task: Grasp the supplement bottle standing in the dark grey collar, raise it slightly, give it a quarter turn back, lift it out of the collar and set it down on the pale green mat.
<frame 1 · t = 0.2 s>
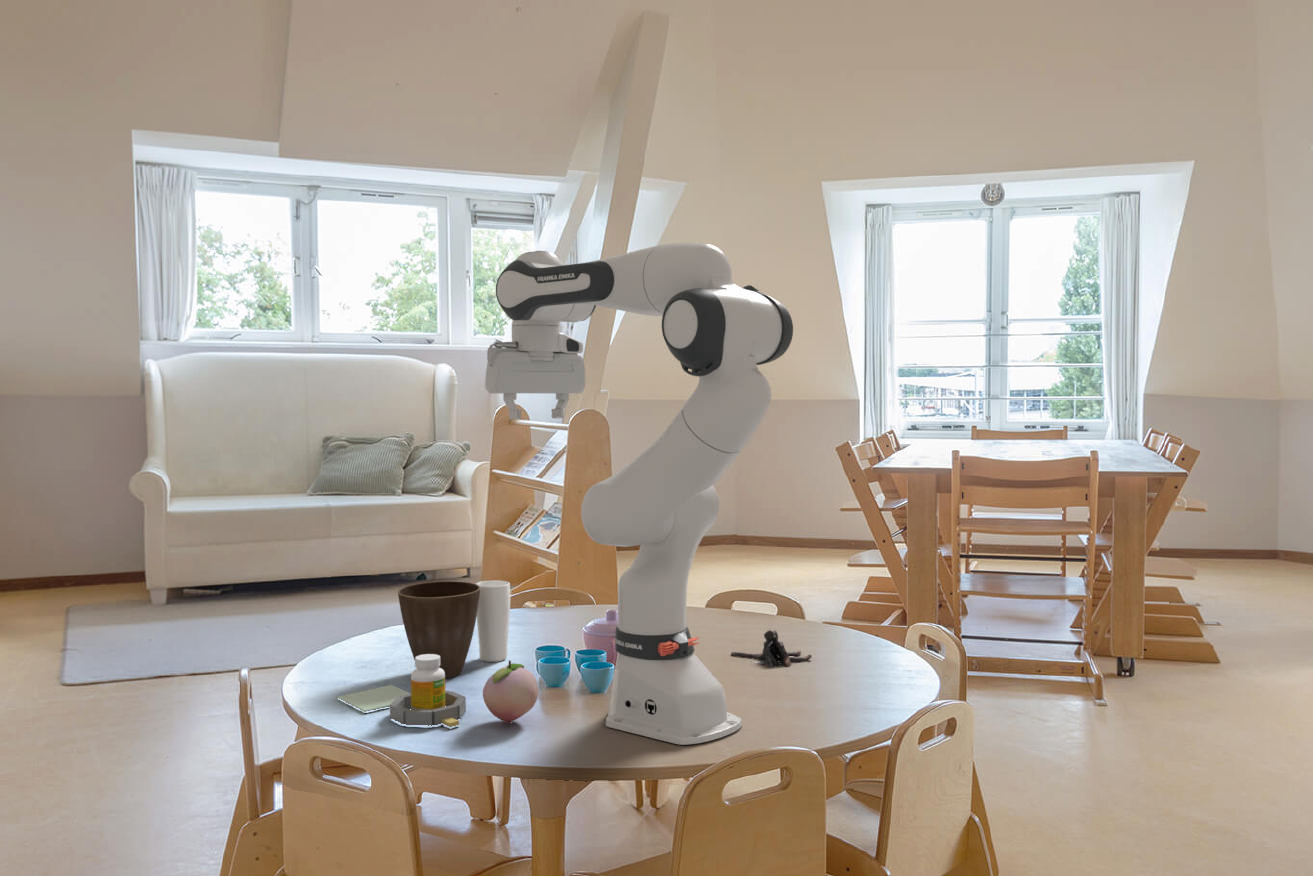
hand: (536, 418, 180), 47 cm above the table, tool pointing down, fingers open, 8 cm apart
collar: (428, 716, 159), on the table
drinking glass: (493, 660, 194), on the table
mat: (378, 700, 168), on the table
stuffed animal: (770, 662, 194), on the table
plant pot: (440, 675, 184), on the table
supplement bottle: (428, 717, 160), resting in collar
decorative fruit: (512, 724, 156), on the table
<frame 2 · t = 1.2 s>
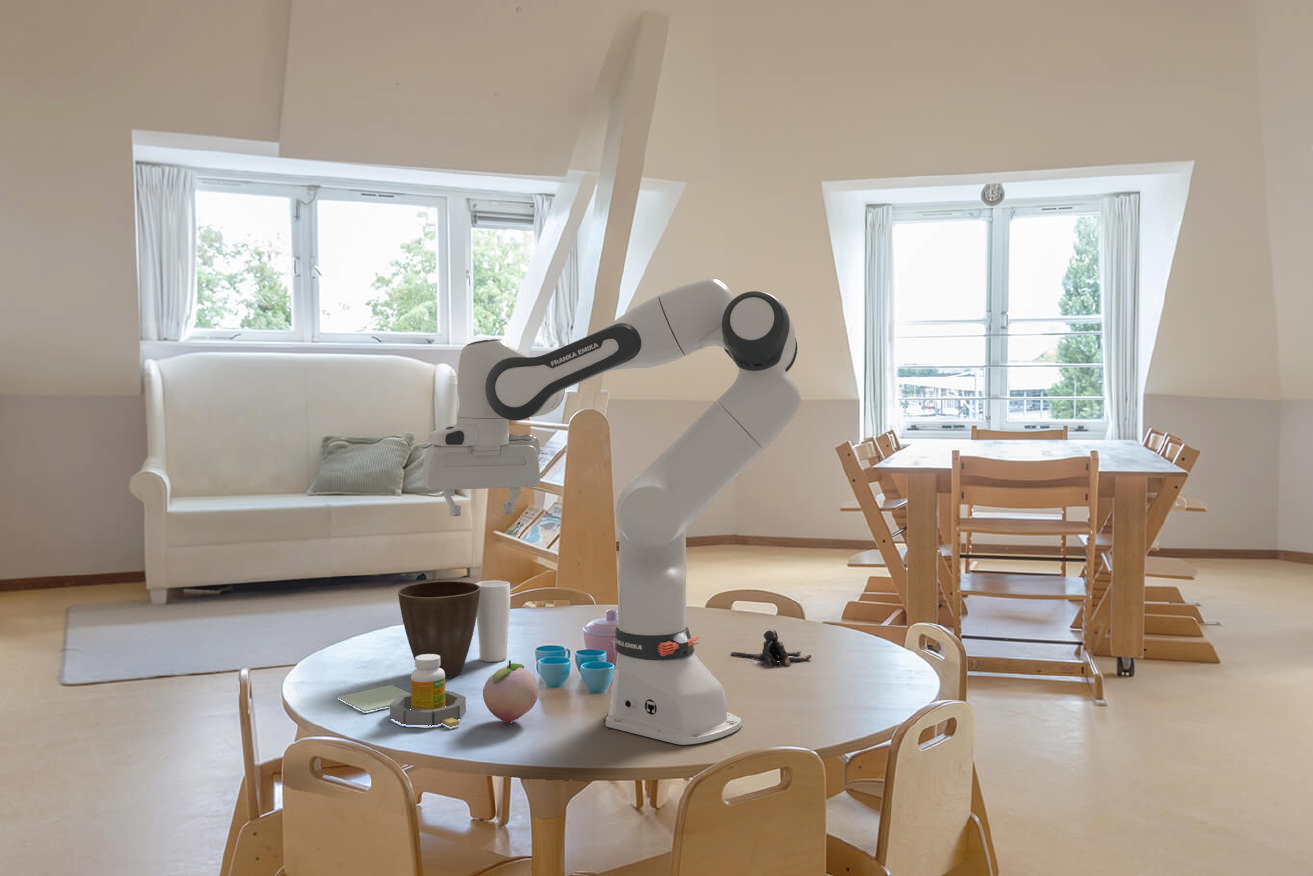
hand: (482, 514, 170), 31 cm above the table, tool pointing down, fingers open, 8 cm apart
nothing on the table moved.
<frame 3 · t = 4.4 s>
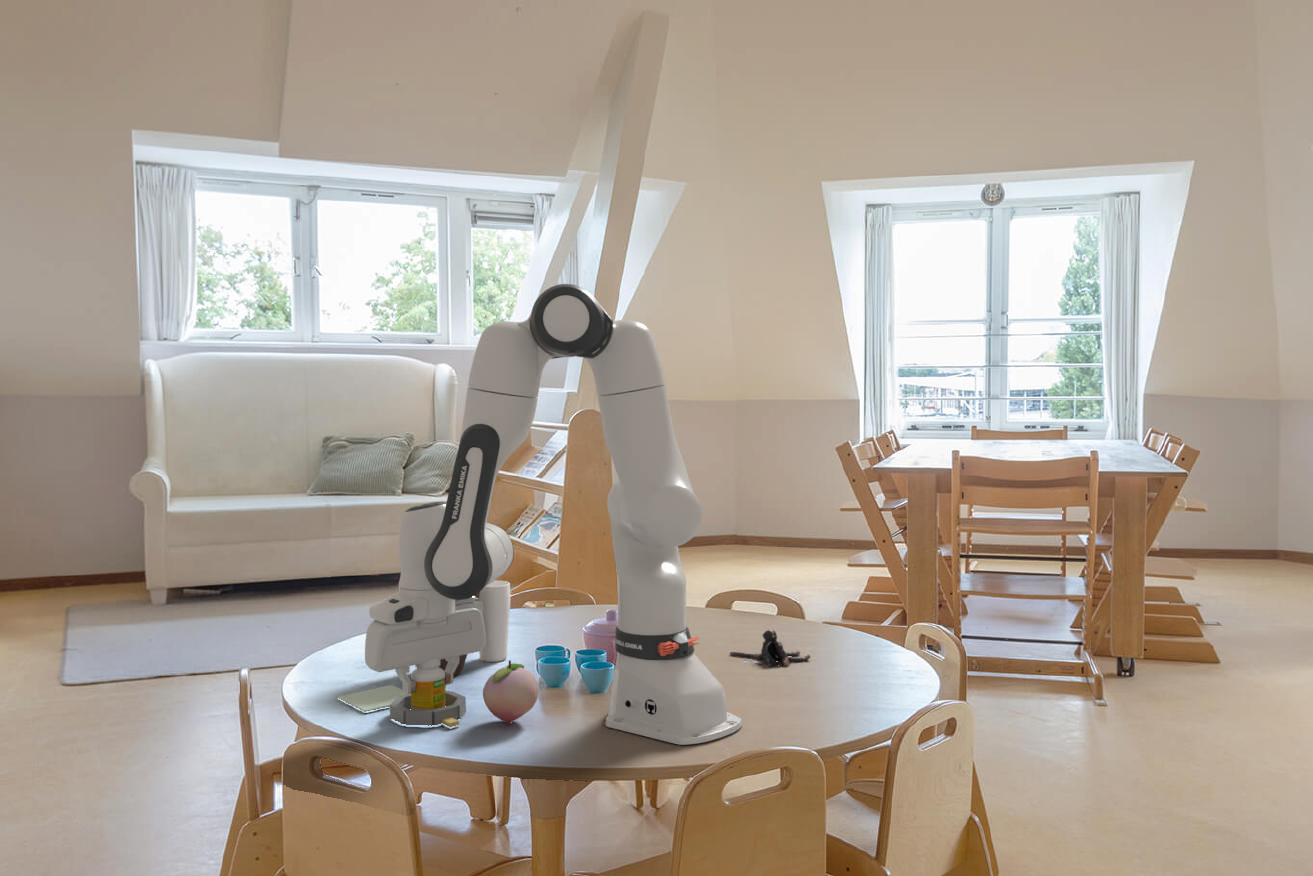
hand: (428, 688, 159), 5 cm above the table, tool pointing down, fingers closed on supplement bottle, 5 cm apart
supplement bottle: (428, 717, 160), resting in collar, touching gripper
everything else where it was.
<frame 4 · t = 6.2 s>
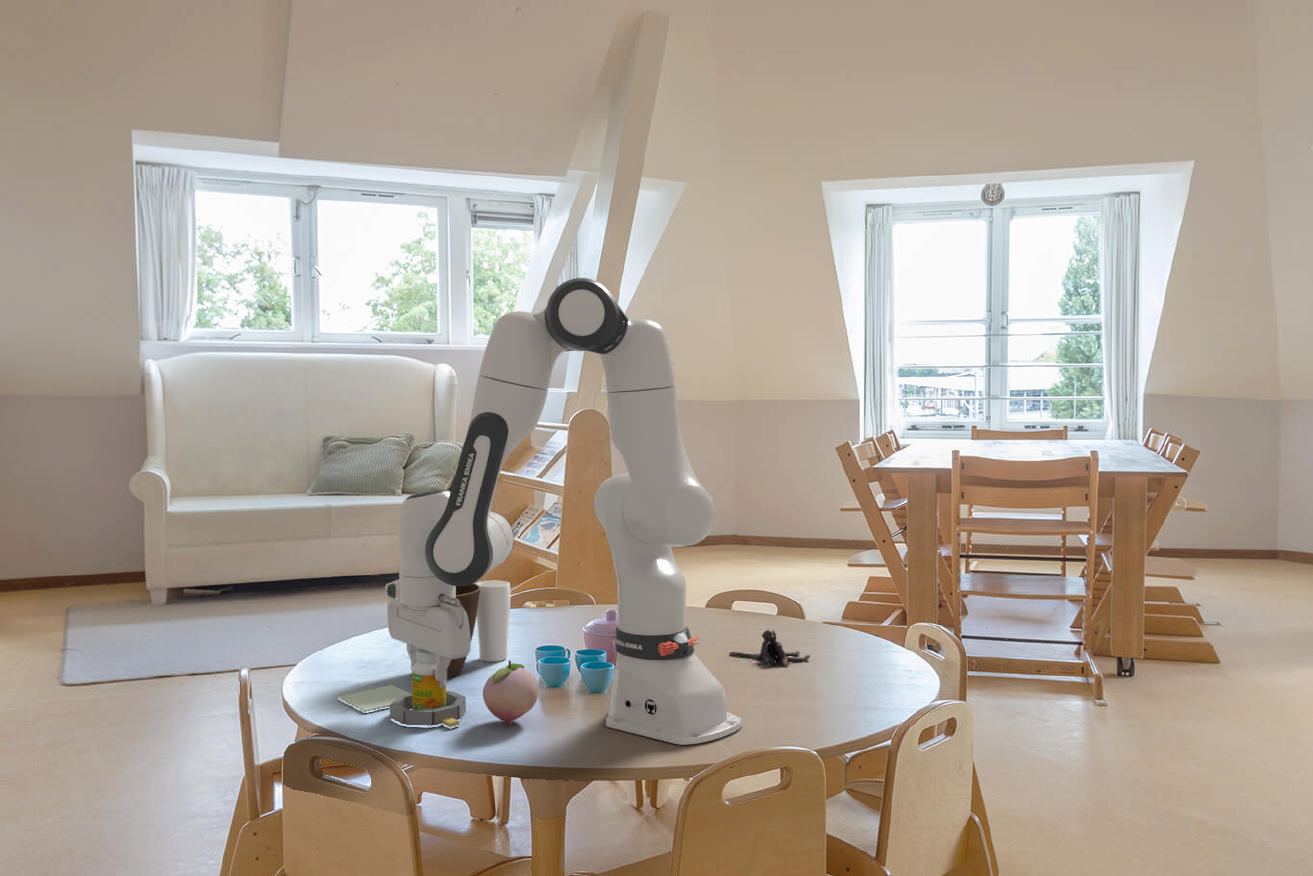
hand: (428, 675, 160), 7 cm above the table, tool pointing down, fingers closed on supplement bottle, 5 cm apart
supplement bottle: (429, 711, 160), point 1 cm above the table, touching gripper
everything else where it was.
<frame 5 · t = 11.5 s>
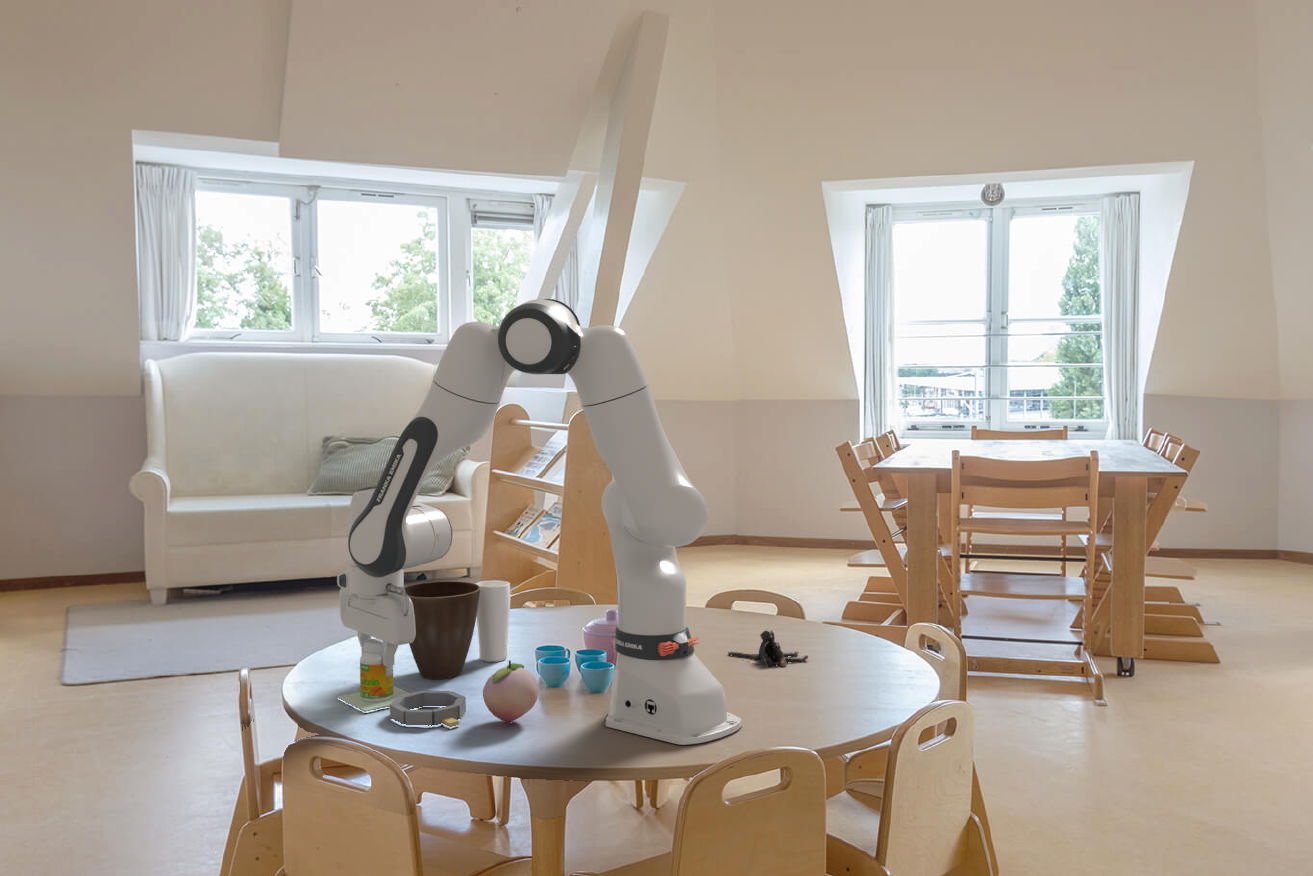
hand: (377, 661, 167), 7 cm above the table, tool pointing down, fingers closed on supplement bottle, 5 cm apart
supplement bottle: (376, 699, 167), resting on mat, touching gripper
everything else where it was.
when the fingers open (7 cm above the table, at t = 12.2 s): supplement bottle stays where it is, resting on mat.
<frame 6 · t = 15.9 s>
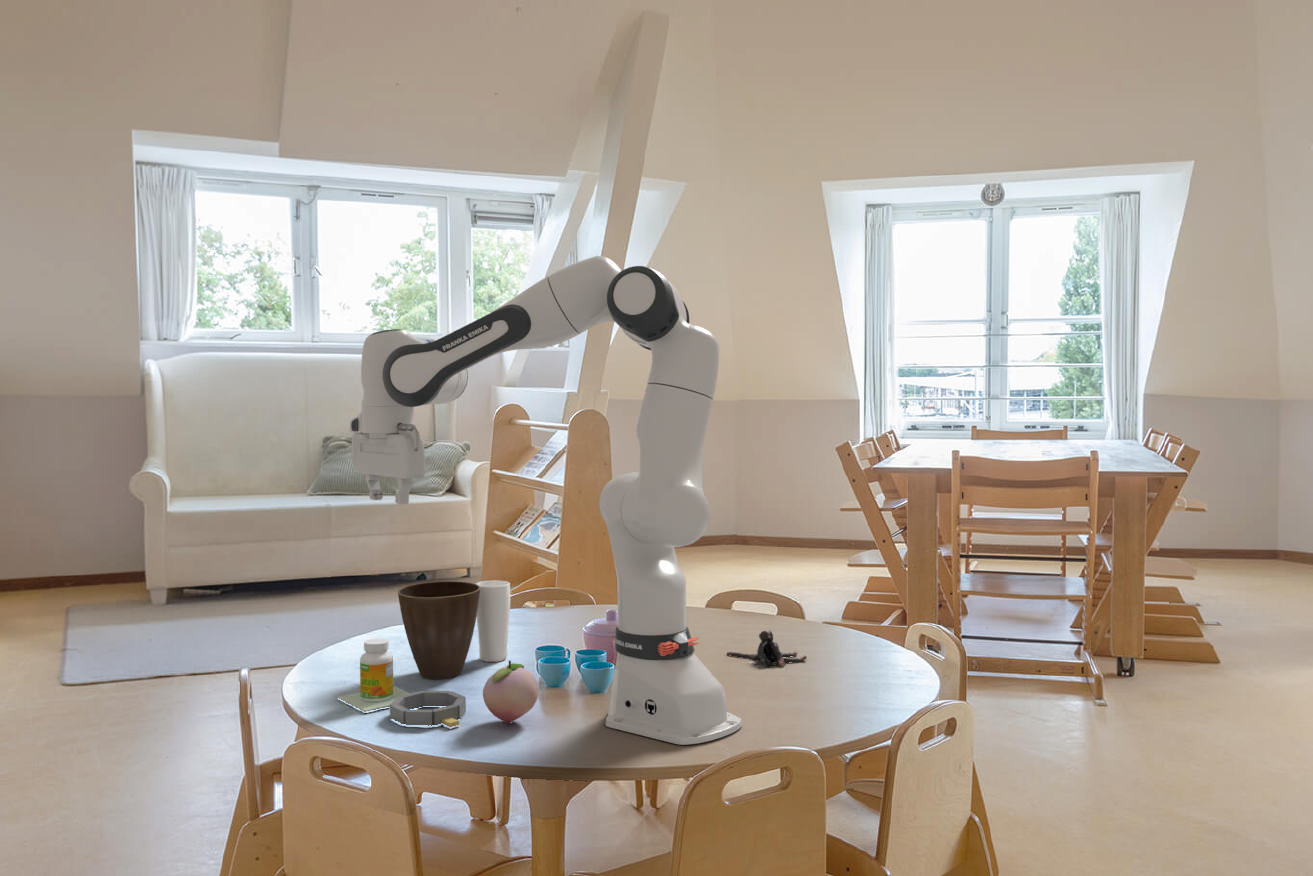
hand: (388, 501, 173), 33 cm above the table, tool pointing down, fingers open, 8 cm apart
supplement bottle: (376, 699, 167), resting on mat
at the end: supplement bottle inside the target area on the mat (0.4 cm from its centre), point 0.4 cm above the mat's base; supplement bottle tilted 0°; the gripper is holding nothing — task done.
